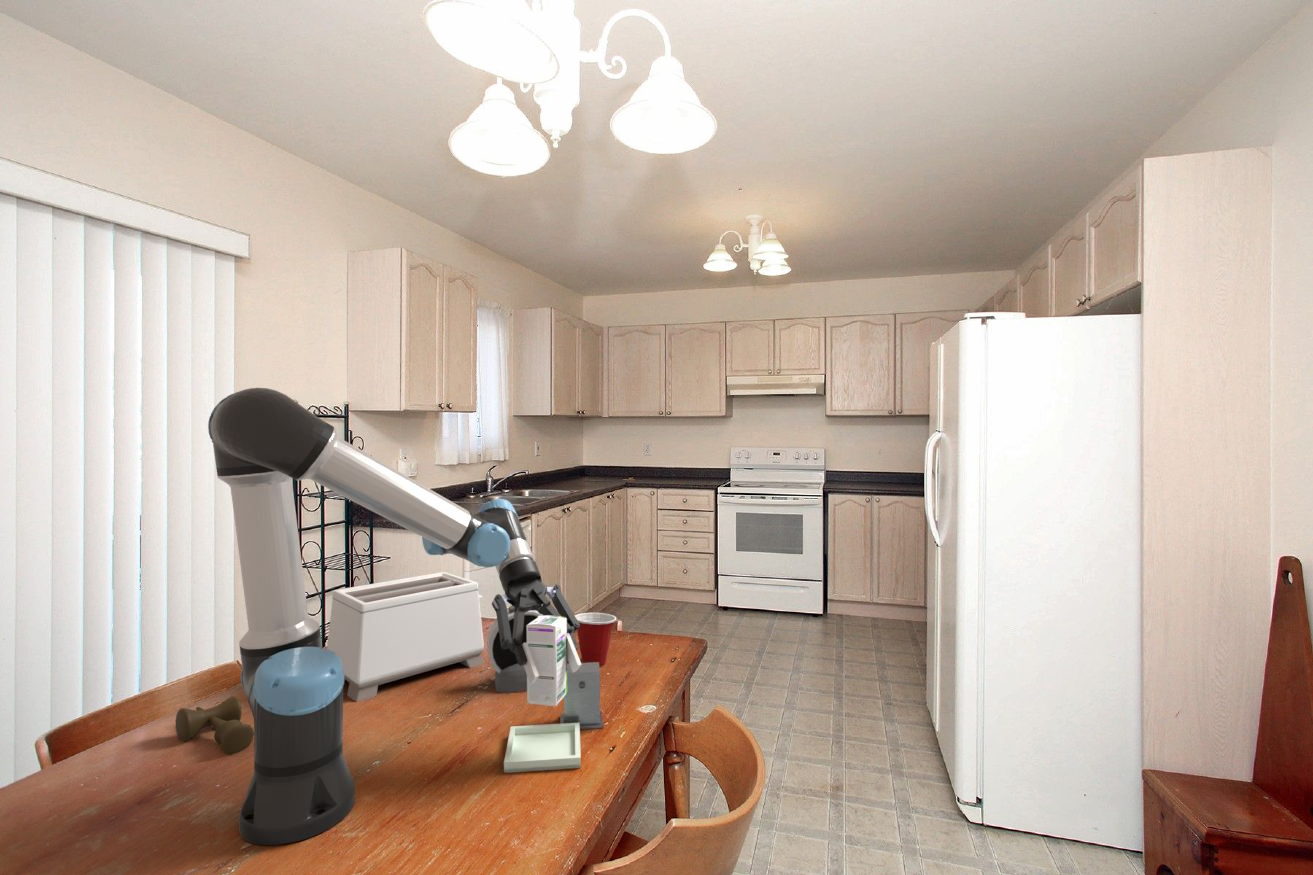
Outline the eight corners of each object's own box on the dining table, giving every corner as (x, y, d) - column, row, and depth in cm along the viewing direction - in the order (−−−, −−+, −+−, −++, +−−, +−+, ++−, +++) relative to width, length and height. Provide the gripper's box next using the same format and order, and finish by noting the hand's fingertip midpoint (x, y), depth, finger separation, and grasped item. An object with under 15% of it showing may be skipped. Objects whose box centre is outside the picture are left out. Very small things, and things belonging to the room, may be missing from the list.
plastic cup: (624, 661, 157) (625, 614, 157) (598, 674, 148) (599, 624, 148) (591, 652, 163) (591, 607, 163) (564, 665, 154) (564, 617, 154)
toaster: (496, 660, 157) (496, 580, 157) (356, 702, 132) (356, 606, 132) (457, 642, 170) (458, 568, 170) (323, 677, 145) (324, 590, 145)
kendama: (207, 767, 107) (166, 731, 119) (267, 746, 115) (223, 714, 126) (209, 733, 107) (167, 700, 119) (269, 714, 115) (225, 685, 126)
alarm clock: (488, 695, 136) (489, 613, 136) (485, 678, 146) (486, 601, 145) (561, 686, 141) (562, 607, 141) (554, 670, 151) (554, 595, 151)
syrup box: (556, 707, 110) (557, 625, 109) (525, 703, 111) (526, 623, 111) (567, 693, 115) (568, 616, 115) (537, 690, 116) (538, 614, 116)
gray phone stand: (560, 730, 120) (560, 674, 120) (560, 716, 126) (560, 662, 126) (603, 727, 122) (603, 672, 122) (601, 714, 128) (602, 661, 127)
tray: (503, 772, 105) (503, 762, 105) (510, 735, 118) (510, 726, 118) (580, 767, 107) (580, 757, 107) (579, 731, 120) (579, 722, 120)
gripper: (556, 571, 131) (597, 670, 119) (460, 586, 118) (495, 699, 106) (569, 550, 127) (612, 650, 114) (471, 563, 114) (508, 678, 102)
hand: (556, 673), depth 110 cm, fingers closed on syrup box, 8 cm apart
